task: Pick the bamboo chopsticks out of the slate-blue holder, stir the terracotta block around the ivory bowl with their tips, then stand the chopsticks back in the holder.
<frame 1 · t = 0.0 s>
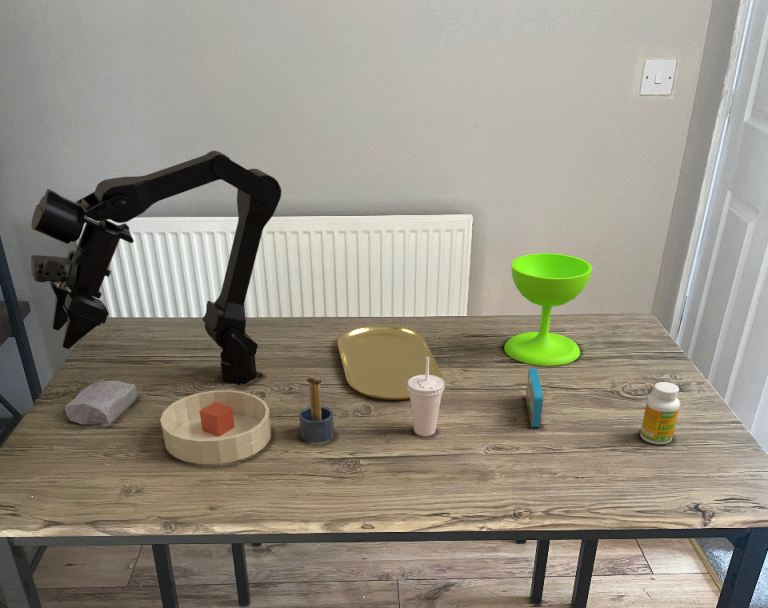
hand: (60, 338, 139), 15 cm above the table, tool tilted 35°, fingers open, 9 cm apart
chopsticks: (317, 434, 140), resting on holder
serving platter: (387, 365, 165), on the table
wineglass: (541, 350, 171), on the table
holder: (317, 436, 140), on the table
stone block: (101, 410, 149), on the table
smoothie: (424, 433, 142), on the table
block: (218, 429, 142), point 1 cm above the table, touching bowl
supplement bottle: (655, 438, 140), on the table
bowl: (218, 439, 140), on the table
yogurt: (532, 413, 148), on the table
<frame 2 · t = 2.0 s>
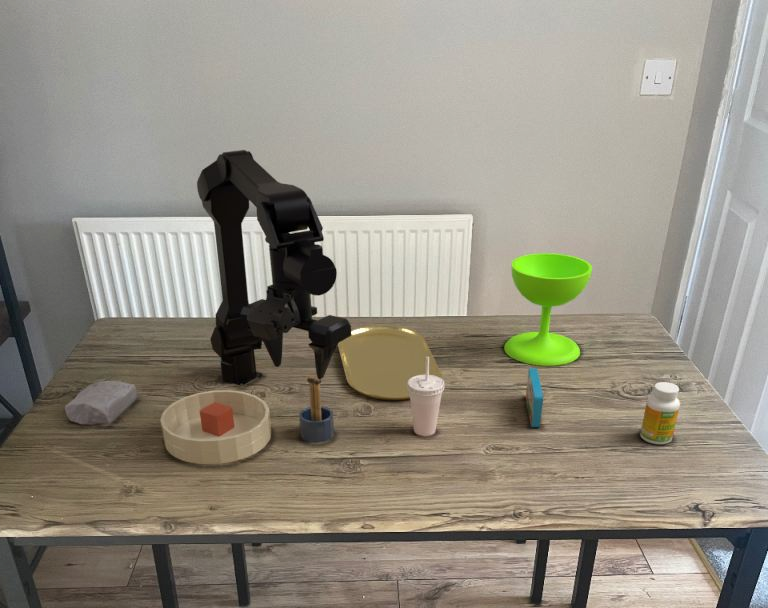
hand: (298, 372, 131), 13 cm above the table, tool pointing down, fingers open, 9 cm apart
nothing on the table moved.
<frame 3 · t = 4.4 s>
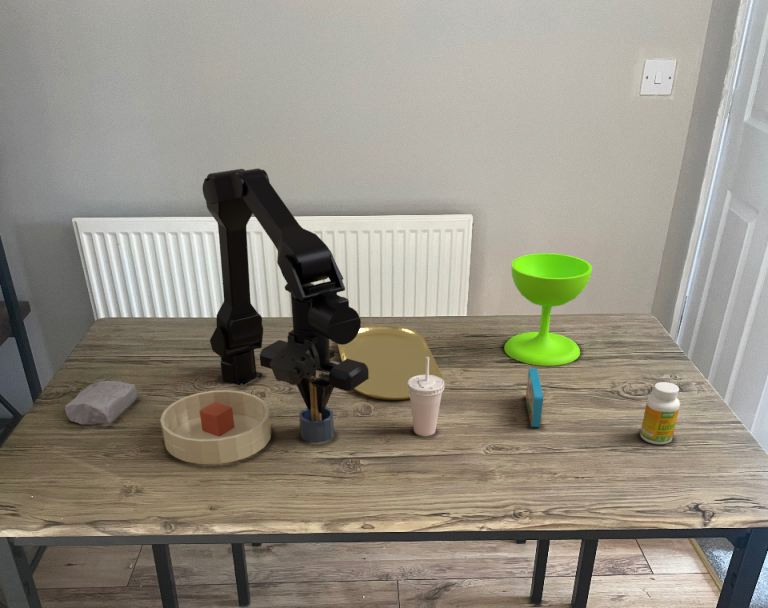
hand: (315, 410, 137), 5 cm above the table, tool pointing down, fingers closed on chopsticks
chopsticks: (317, 434, 140), resting on holder, touching gripper
everything else where it was.
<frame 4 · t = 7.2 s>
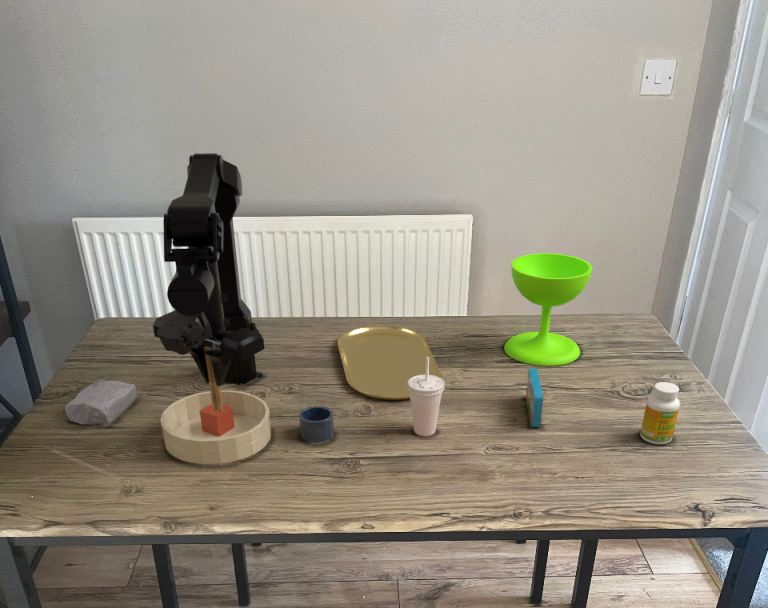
hand: (214, 383, 131), 12 cm above the table, tool pointing down, fingers closed on chopsticks
chopsticks: (218, 409, 134), point 7 cm above the table, touching gripper
everything else where it was.
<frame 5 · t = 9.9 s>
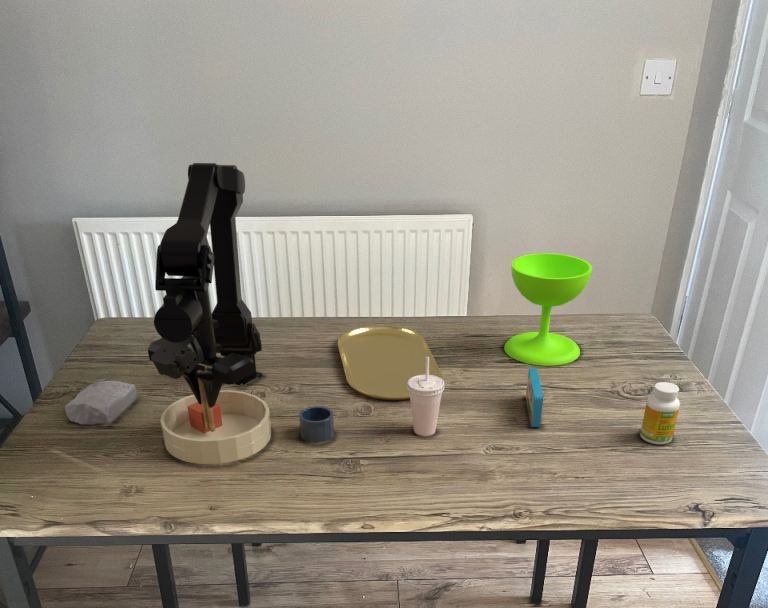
hand: (206, 405, 137), 6 cm above the table, tool pointing down, fingers closed on chopsticks
chopsticks: (210, 429, 140), point 1 cm above the table, touching gripper
block: (206, 425, 143), point 1 cm above the table, touching bowl
everything else where it was.
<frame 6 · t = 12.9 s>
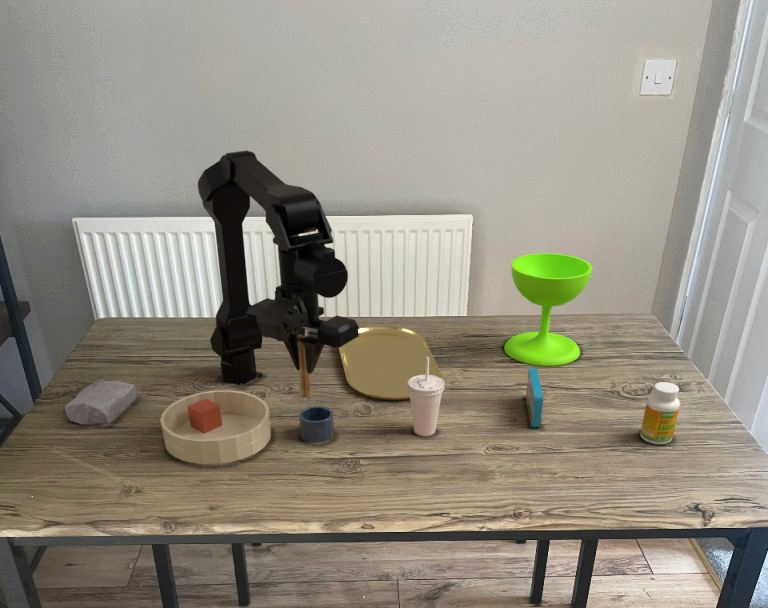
hand: (305, 371, 133), 13 cm above the table, tool pointing down, fingers closed on chopsticks
chopsticks: (306, 397, 136), point 8 cm above the table, touching gripper
everything else where it was.
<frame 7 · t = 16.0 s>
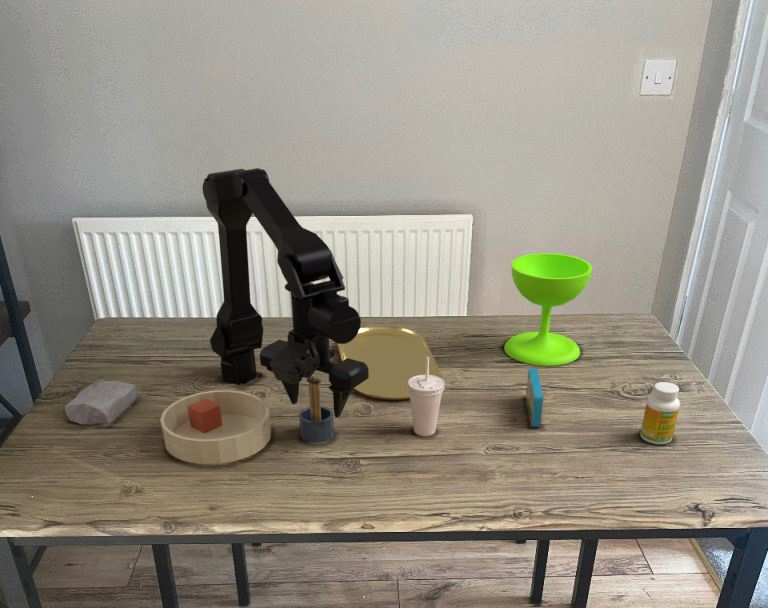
hand: (315, 409, 137), 5 cm above the table, tool pointing down, fingers open, 9 cm apart
chopsticks: (317, 435, 140), resting on holder
everything else where it was.
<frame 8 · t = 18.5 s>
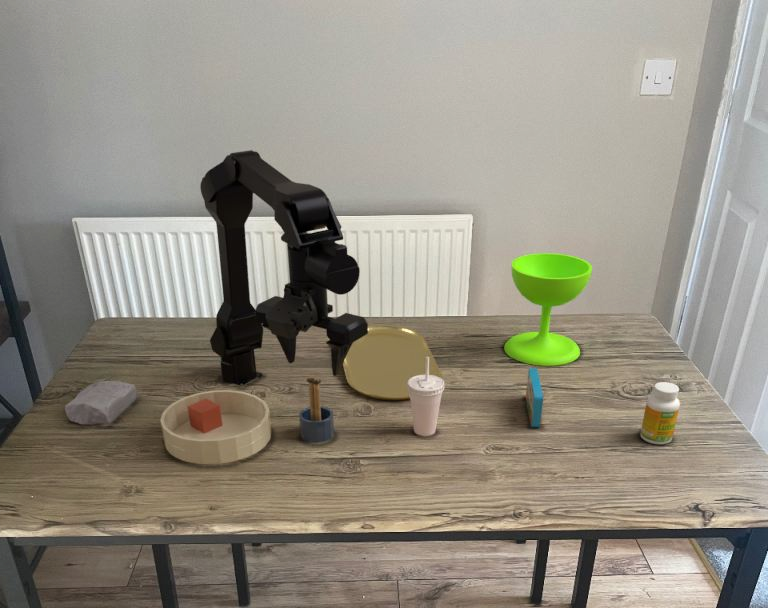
hand: (313, 368, 133), 13 cm above the table, tool pointing down, fingers open, 9 cm apart
nothing on the table moved.
at the end: block moved 2.6 cm from its start; block inside the target area in the bowl (4.7 cm from its centre), point 0.6 cm above the bowl's base; chopsticks 0.1 cm off-centre in the holder, point 0.4 cm above the holder's base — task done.
